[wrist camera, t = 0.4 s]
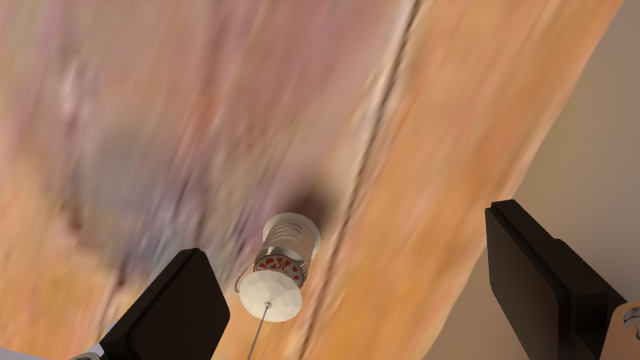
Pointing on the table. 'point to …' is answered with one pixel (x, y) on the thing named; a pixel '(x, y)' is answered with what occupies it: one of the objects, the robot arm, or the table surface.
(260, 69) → the table surface
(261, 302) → the french press
